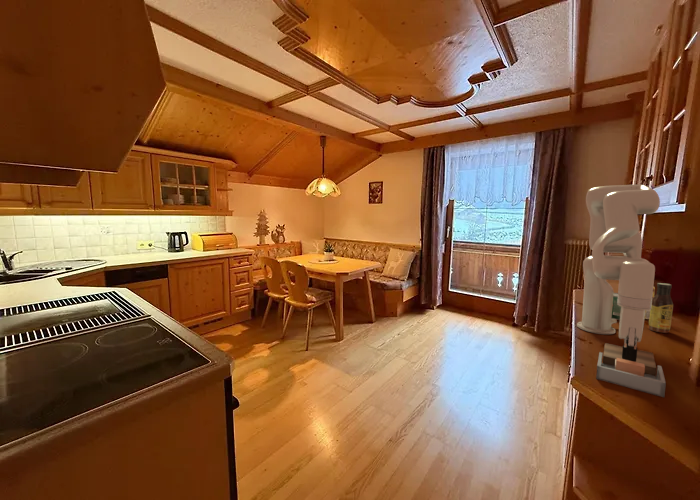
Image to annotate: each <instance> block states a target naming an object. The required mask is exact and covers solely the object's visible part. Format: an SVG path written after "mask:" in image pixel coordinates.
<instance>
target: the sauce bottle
mask: <svg viewBox="0 0 700 500" xmlns="http://www.w3.org/2000/svg"><path fill="white" fill-rule="evenodd" d="M656 287H657V290H656V294H654V297H653V299H652V306H651V310H650V317H649V319H648V329H649V330H650V331H652V332H656V333H663V334H667V333H669V332H670V331H671V326H672V320H673V319H672V317H673V311H674V303H673V299H672V297H671V290H672V288H673V287H672V284H670V283H665V282H664V283H661V282H657V285H656Z"/></svg>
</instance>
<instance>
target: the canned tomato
mask: <svg viewBox="0 0 700 500" xmlns="http://www.w3.org/2000/svg"><path fill="white" fill-rule="evenodd" d="M617 299H618V292H614V293H613V305H612V318H611V319H616V320H618V321H620V312H621V306H619V305H617Z"/></svg>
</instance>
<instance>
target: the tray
mask: <svg viewBox="0 0 700 500" xmlns="http://www.w3.org/2000/svg"><path fill="white" fill-rule="evenodd" d="M603 354H604V352H601V351H599V353H598V358H597V359H598V360H597V364H596V376H595V377H596V380H598V381H603V382H607V383H611V384H614V385H618V386H621V387H625V388H629V389H631V390H636V391H639V392H643V393H647V394H651V395H654V396H658V397H661V398H665V393H666V387H667V386H666V383H667V382H666V379H665V375H664V371H663V366H662V365H657V366H656V375H655V376H653V375H649V374H645V373H644V377H643V376H639V375H635V374H631V373H627V372H623V371H619V370H615V366H612V365H608V364H604V363H603Z"/></svg>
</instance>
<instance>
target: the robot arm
mask: <svg viewBox="0 0 700 500" xmlns="http://www.w3.org/2000/svg"><path fill="white" fill-rule="evenodd" d="M660 200H661V199H660V197H659V194H658V192H657V191H656V190H655V189H653V188H652V187H650V186H648V185H646V184H623V185H622V184H618V185H616V184H615V185H604V186H603V185H602V186H595V187H592V188H590V189H588V190H587V193H586V196H585V206H586V208H587V211H588V214H589V218H590V224H589V236H588V239H589V240H588V244H589V248H590V250H592V251H591V255H590V256H587V257H585V258H584V260H583V261H582V270H583V277H584V279H583V280H584V282H583V286H584V287H583V299H582V313H581V321H578V322H577V323H576V326H577V327H578V328H579V329H581V330H583V331H585V332H588V333H592V334H597V335H614V334H615V333H616V330H617V329H616V328H614V327H613V326H612V325H613V324H617V322H618V321H617V320H616V319H611V318H612V305H613V293H615V292H614V287H612V285H611V284H610V283H609V282H608V281H607V280H609V281H611V280H613V281H618V289H617V290H618V291H617V293H618V299H617V305H619V306H621V312H620V320H619V323H618V325H619V326H618V338H619V339H620V340H622V339H623V341H624V342H623V345H622V347H623V350H622V359H625V360H629V361H634V362H636V358H637V350H638V343H641V341H642V337H643V332H644V326H645V325H644V324H645V320H646V319H645V310H651V306H652V296H653V287H654V284H655V283H654V282H655V275H656V274H655V272H656V266H655V265H654V263H651V262H650V261H649V260H647V259H645V258H642V250H643V239H642V234H641V233H640V232H639V231H640V223H639V217H638V215H652V214H654V213H656V212H657V211H658V210H659V208H660V204H661V201H660ZM604 253H613V254H614V253H615V254H616V253H617V254H619V253H620V254H623V255H605V254H604Z"/></svg>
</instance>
